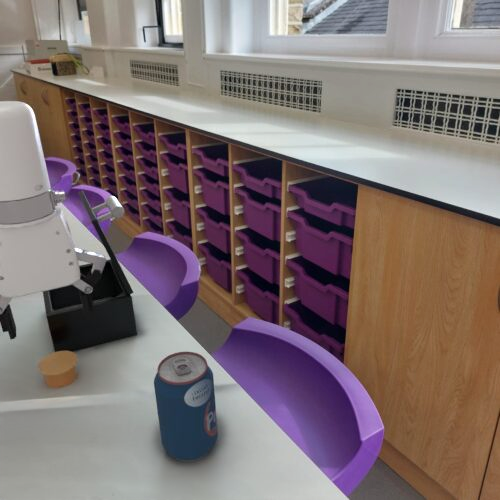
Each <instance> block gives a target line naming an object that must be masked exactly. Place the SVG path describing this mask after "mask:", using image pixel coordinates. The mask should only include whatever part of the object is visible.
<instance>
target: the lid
mask: <svg viewBox="0 0 500 500" xmlns="http://www.w3.org/2000/svg"><path fill="white" fill-rule="evenodd" d="M77 193H78V195H79V198H80V200H81V203H82V204H83V206H84V209H85V211H86V213H87V215H88V218H89V219H90V221H91V224H92V226H93V228H94V229H95V232H96V233H97V236H98V238H99V239H100V241H101V243H102V245H103V247H104V249H105V251H106V253H107V255H108V257H109V260H110V259H111V261H112V263H113V265H114V267H115V269H116V271H117V272H118V274H119V276H120V278H121V280H122V282H123V284H124V286H125V288H126V290H127V292H128V294H129V295H130V294H131V295H132V294H134V290H133V288H132V286H131V284H130V283H129V280H128V278H127V276H126V274H125V272H124V270H123V268H122V265H121V264H120V262H119V260H118V258H117V256H116V254H115V252H114V251H113V248H112V246H111V244H110V242H109V241H108V238H107V236H106V235H105V232H104V230H103V228H102V226H101V224H100V223H101V222H104V221H106V220H108V219H110V218H113V217H114V218H115V219H121V218H123V216H124V215H125V208H124V207H123V205H122V204H121V203H120V201H119V200H118V198H117V197H116V196H114V195H109V196H106V199H105V201H104V202H103V203H101V204H98V205H96V206H94V207H91V205H90V203H89V201H88V199H87V197H86V195H85V193H84V191H83V190H80V191H78V192H77ZM104 209H108V211H109V212H107V213H104V214H102V215H99V216H97V217H96V214H95V213H97V212H100V211H102V210H104Z"/></svg>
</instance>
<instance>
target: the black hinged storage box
mask: <svg viewBox="0 0 500 500" xmlns="http://www.w3.org/2000/svg"><path fill="white" fill-rule="evenodd" d="M79 268H80V273H81V274H83V275H84V276H87V274H88V273H89V272H90V270H91V269H92V268H93V264H92V263H85V264H81V265H80V264H79ZM42 295H43V303H44V309H45V316H46V317H45V318H46V321H47V325H48V330H49V333H50V339H51V342H52V347H53V352H58V351H71V352H73V353H75V352H79V351H81V350H85V349H90V348H93V347H98V346H100V345H105V344H108V343H109V344H110V343H112V342H116V341H120V340H123V339H128V338H132V337H136V336H138V329H137V323H136V322H137V321H136V316H135V310H134V304H133V296H132V294H130V295H129V294H128V292H127V290H126V288H125V286H124V284H123V282H122V280H121V278H120V276H119V274H118V272H117V271H116V269H115V267H114V265H113V263H112V261H111V259H110V258H109V259H106V263H105V266H104V269H103V271H102V274H101V278H100V279H99V281H98V282H97V283H96V285H95V286H94V287H93V291H92V292H91V295H92V300H93V305H94V310H92V311H90V316H91V319H90V320H87V319H85V315H84V312H83V307H82V303H81V298H80V293H79V289H78V288H77V287H75V286H73V285H69V286H65V287H61V288H57V289H52V290H48V291H43V292H42Z"/></svg>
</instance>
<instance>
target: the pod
mask: <svg viewBox="0 0 500 500" xmlns="http://www.w3.org/2000/svg"><path fill="white" fill-rule="evenodd" d="M77 362H78V357H77V354H76V353H75V352H71V351H58V352H55V351H53V352H52V353H49V354H47V355H46V356H44V357H43V358H42V359H41V360H40V361H39V364H38V370H39V372H40V373H41V374H42V375H43V378H44V381H45V385H46V386H47V387H49V388H51V389H61V388H64V387H67V386H68V385H69V386H70V384H72V383H73V382H75V381H76V379H77V378H78V370H77V366H76V364H77Z"/></svg>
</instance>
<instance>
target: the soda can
mask: <svg viewBox="0 0 500 500" xmlns="http://www.w3.org/2000/svg"><path fill="white" fill-rule="evenodd" d="M153 388H154V395H155V403H156V410H157V417H158V418H157V419H158V424H159V433H160V439H161V440H160V441H161V445H162V447H163V449H164V450H165V451H166V453H167V454H169V455H170V456H171V457H173V459H175V460H178V461H181V462H187V463H188V462H195V461H198V460H201V459H203V458H204V457H206V455H208V454H209V453H210V451H211V450H212V449H213V447H214V446H215V444H216V443H217V439H218V433H219V432H218V421H217V406H216V405H217V404H216V394H215V381H214V372H213V370H212V369H211V367H210V366H209V364H208V362H207V360H206V357H204V356H203V355H201V354H200V353H197V352H194V351H179V352H174V353H171V354H169V355H167V356H166V357H164V358H163V359H162V360H161V361H160V362H159V363H158V365H157V370H156V373H155V376H154V379H153Z"/></svg>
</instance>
